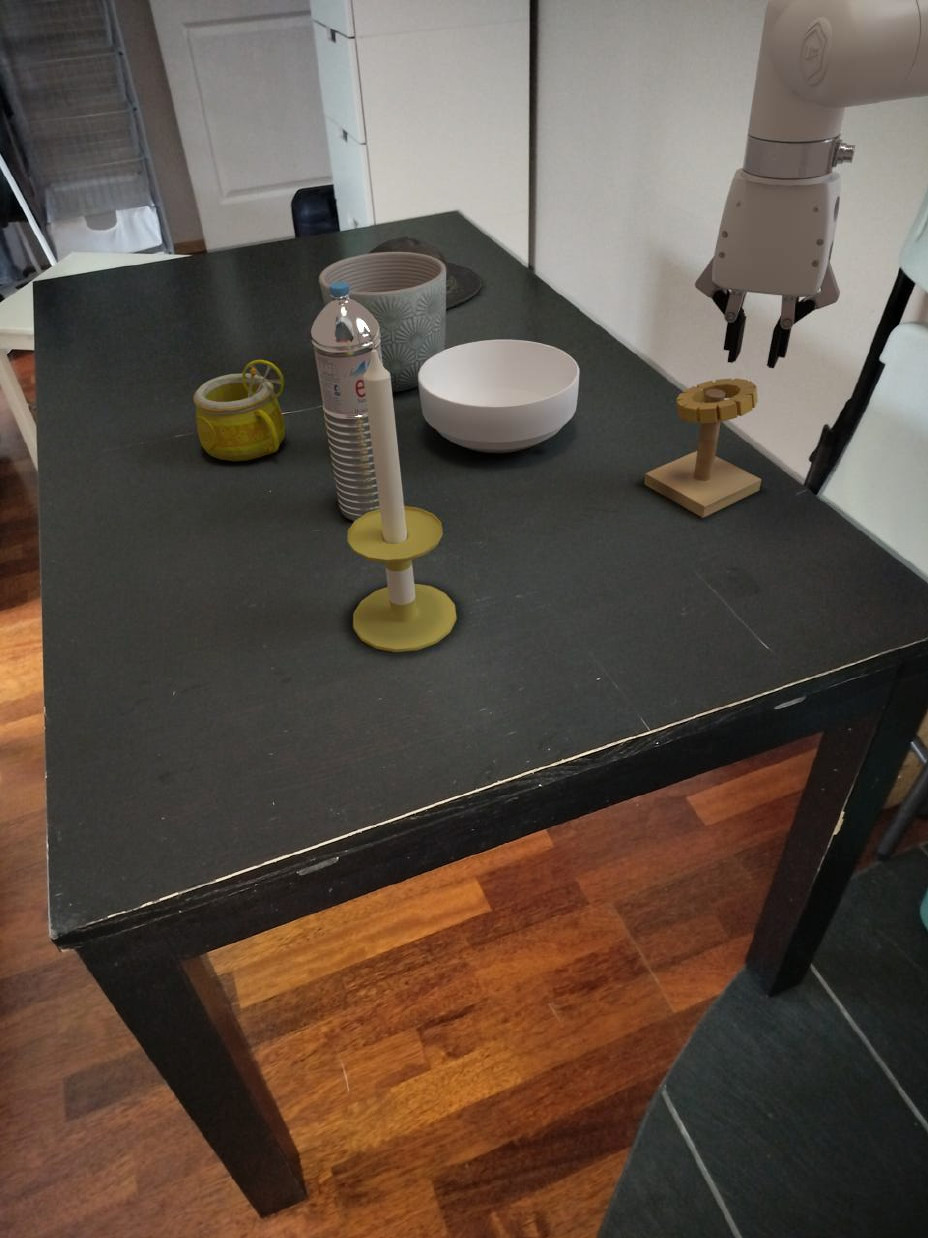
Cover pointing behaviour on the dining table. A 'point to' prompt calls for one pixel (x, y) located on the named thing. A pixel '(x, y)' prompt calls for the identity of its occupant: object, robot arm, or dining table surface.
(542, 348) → the bowl
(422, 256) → the planter
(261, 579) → the dining table surface
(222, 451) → the mug
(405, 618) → the candle
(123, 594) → the dining table surface
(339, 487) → the water bottle
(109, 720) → the dining table surface
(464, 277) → the hat
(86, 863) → the dining table surface
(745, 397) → the ring
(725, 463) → the peg stand
